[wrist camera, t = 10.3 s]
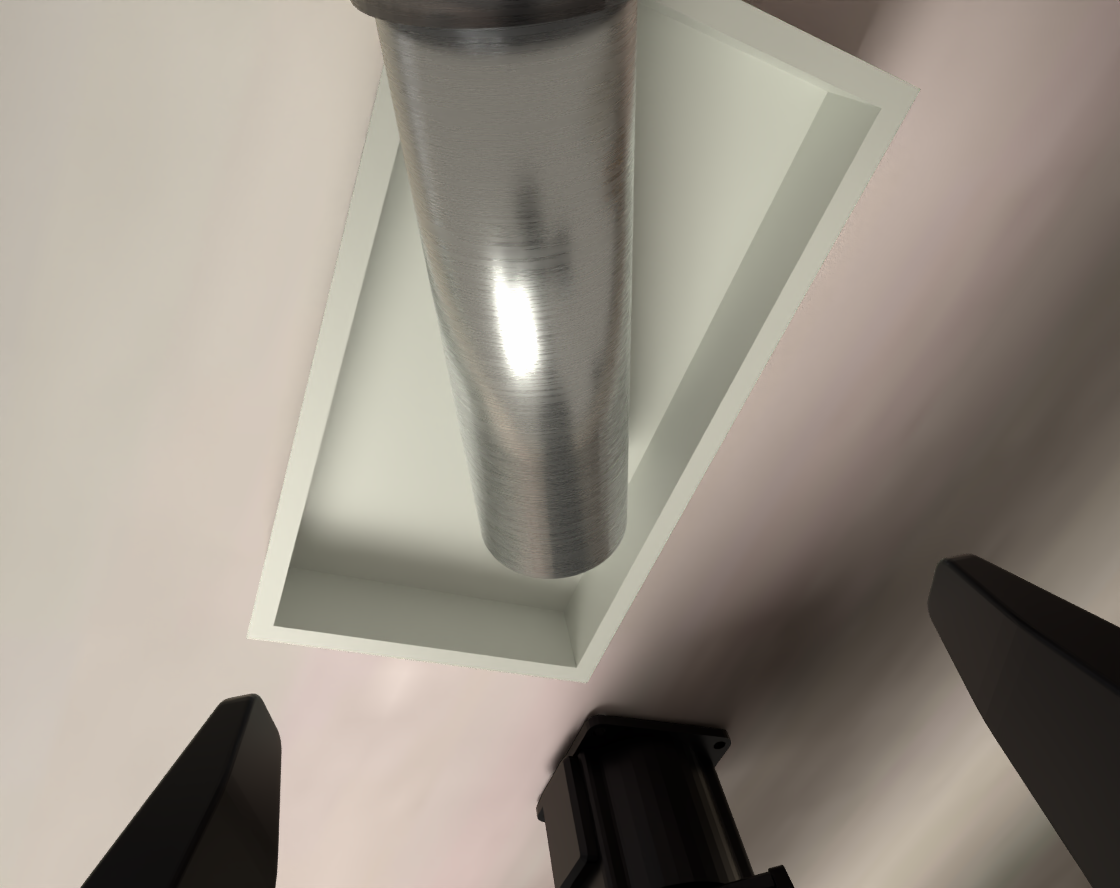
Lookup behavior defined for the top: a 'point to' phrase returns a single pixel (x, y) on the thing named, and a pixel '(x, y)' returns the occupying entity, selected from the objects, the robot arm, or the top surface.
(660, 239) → the tray
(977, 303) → the top surface
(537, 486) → the strut
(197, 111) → the top surface
